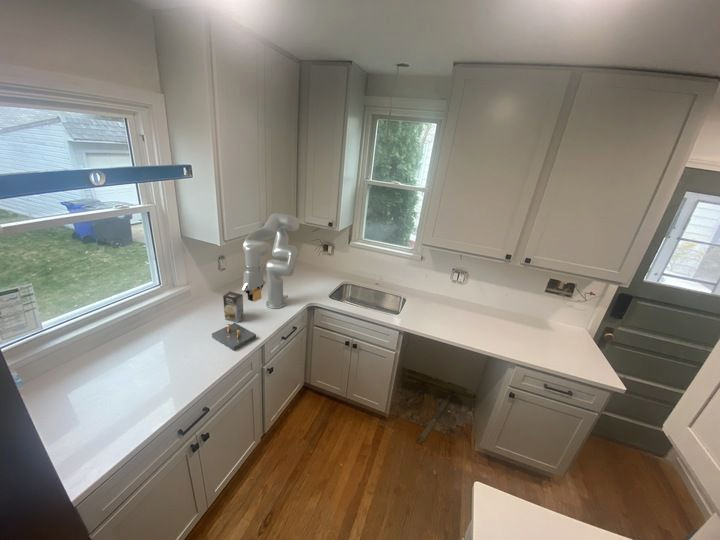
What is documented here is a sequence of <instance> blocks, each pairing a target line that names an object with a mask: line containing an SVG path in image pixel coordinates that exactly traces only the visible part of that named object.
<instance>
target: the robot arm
mask: <svg viewBox="0 0 720 540" xmlns="http://www.w3.org/2000/svg"><path fill="white" fill-rule="evenodd" d="M299 228H300V220H299V218H298V217H296V216H294V215H291V214H285V213H278V212H277V213H276V212H275V213H272V214H271V215H270V216H269V217H268V218H267V220H266V222H265V223H264V224H263V226H262V227H260V228H258V229H255V230H253V231H251V232H249V234H248V235H247V236H246V238H245V240H244V241H243V243H242V250H243V251H244V258H245V270H244V272H243V279H242V280H243V282H242V283H243V286H242V289H241V292H245V294H247V300H249V301H251V302H253V295H252V289H254V288H258V289H261V291H263V288H264V286H265V284H266V281H265V280H264V274H263V273H264V272H263V269H262V265H263V264H262V262H261V257H264V256H266V255H268V254H270V253H271V255H272V257H273V258H275V259H269V260H267V262H266V263H265V270H266V274H267V276H266V277H267V300H266V302H265V306H266V307H267V308H269V309H274V310H275V309H277V310H278V309H282V308H283V307H285V306H286V303H287V302H286V299H288V298H289V296H288V294H287V295H285V294H284V279H283V277H291V276H293V274H294V272H295V267H296V264H297V258H298V248H297V246H296V245H292V244H289V240H290V238H289V235H288V234H287V231H289V232H290V231H291V232H296V231H298V230H299ZM273 238H274V241H273V242H274V243H273V246H271V244H270V243H269V242H267V241H265V240H270V239H273ZM271 250H272V251H271ZM249 290H250V292H249Z"/></svg>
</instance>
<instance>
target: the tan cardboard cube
mask: <svg viewBox="0 0 720 540" xmlns="http://www.w3.org/2000/svg"><path fill="white" fill-rule="evenodd" d="M249 292H250V290H249ZM252 295H253V301H252V302H254V303H255V302H257V301H260V300H262V290H261V289H258V288H254V289H252Z"/></svg>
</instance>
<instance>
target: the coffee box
mask: <svg viewBox="0 0 720 540" xmlns="http://www.w3.org/2000/svg"><path fill="white" fill-rule="evenodd" d="M243 298H244V297H243V294H242V293H238V292H233V291H228V292H227V293H225V294H223V296H222V299H223V311H224V320H226V321H230V322H233V323H236V324H238V323H239V322H241V321H242V320H244V317H245V313H244V299H243Z"/></svg>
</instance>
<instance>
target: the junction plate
mask: <svg viewBox="0 0 720 540" xmlns="http://www.w3.org/2000/svg"><path fill="white" fill-rule="evenodd" d="M211 338H212V339H214V340H215V341H217V342H219V343H220V344H222V345H223V344H224V346H225V347H226V348H228V347H229V348H228V349H230V350H232V351H233V350H234V351H236V350H238V349H241V347H243V346H246V345H247V344H248V343H250V342H252V341H254V340H255V339H257V334H256V333H254V332H253V331H250V330H249V329H248V328H245V327H243V326H241V325H239V324H238V323H236V322H233V323H228V324H226V326H224V327H223V328H220V329H219V330H216V331H215V332H213V333H211Z"/></svg>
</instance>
